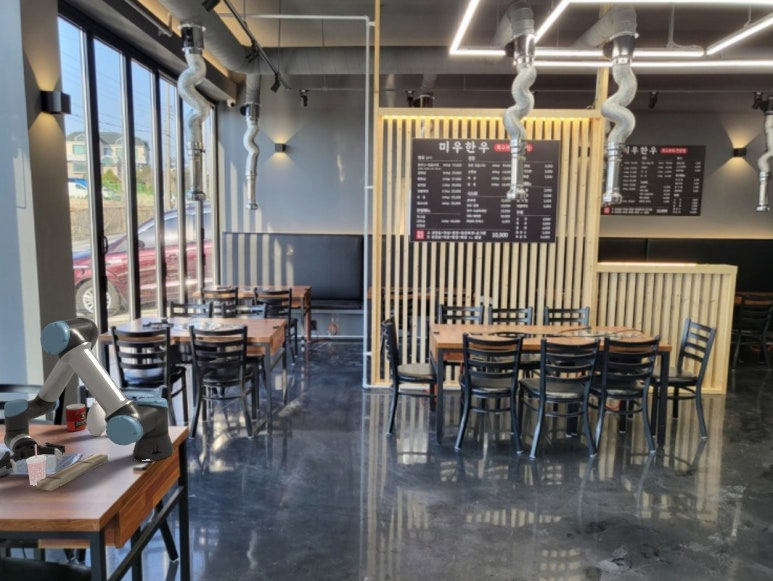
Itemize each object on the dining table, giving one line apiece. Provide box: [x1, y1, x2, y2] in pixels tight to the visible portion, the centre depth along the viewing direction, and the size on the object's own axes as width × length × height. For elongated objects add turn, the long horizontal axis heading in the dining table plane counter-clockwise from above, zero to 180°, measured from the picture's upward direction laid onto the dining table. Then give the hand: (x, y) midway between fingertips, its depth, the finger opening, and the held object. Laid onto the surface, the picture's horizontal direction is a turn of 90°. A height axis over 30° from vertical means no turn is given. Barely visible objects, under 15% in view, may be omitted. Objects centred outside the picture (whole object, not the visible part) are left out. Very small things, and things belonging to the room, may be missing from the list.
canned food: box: [65, 403, 87, 433], centre depth 242 cm, size 8×8×11 cm
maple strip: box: [36, 453, 109, 492], centre depth 194 cm, size 6×26×3 cm, turn 166°
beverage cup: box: [25, 443, 47, 487], centre depth 186 cm, size 6×6×14 cm
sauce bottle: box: [86, 399, 107, 437], centre depth 234 cm, size 8×8×18 cm
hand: (39, 462), depth 184 cm, fingers open, 13 cm apart
